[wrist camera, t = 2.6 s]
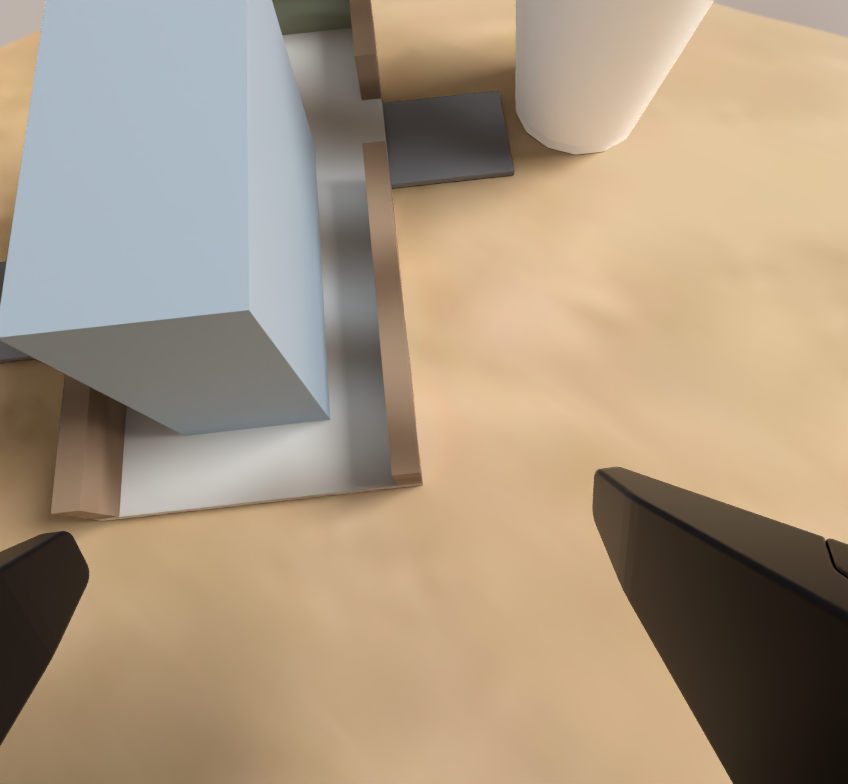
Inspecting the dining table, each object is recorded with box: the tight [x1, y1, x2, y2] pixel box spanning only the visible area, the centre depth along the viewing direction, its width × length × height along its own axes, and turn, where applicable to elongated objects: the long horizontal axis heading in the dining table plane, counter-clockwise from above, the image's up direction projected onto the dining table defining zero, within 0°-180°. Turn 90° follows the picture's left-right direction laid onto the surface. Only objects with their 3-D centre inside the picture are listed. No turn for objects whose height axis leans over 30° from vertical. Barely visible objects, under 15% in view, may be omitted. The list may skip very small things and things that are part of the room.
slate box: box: [0, 0, 330, 436], centre depth 20 cm, size 14×6×10 cm, turn 6°
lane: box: [0, 0, 514, 521], centre depth 24 cm, size 26×25×5 cm
